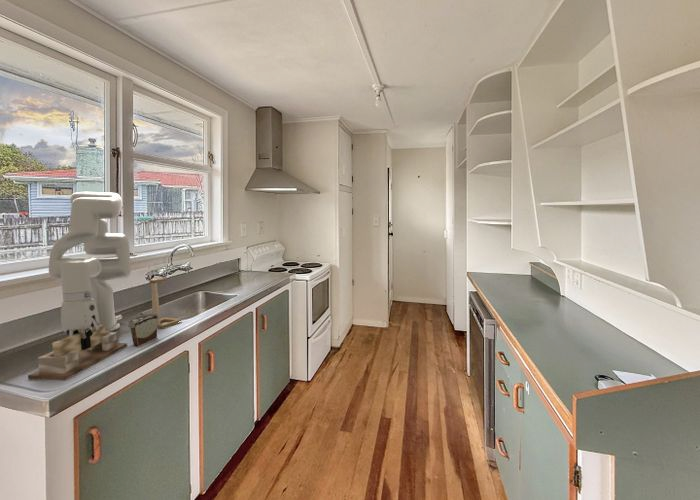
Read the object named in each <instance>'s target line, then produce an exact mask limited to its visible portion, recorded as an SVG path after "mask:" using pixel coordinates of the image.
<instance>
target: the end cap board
mask: <svg viewBox="0 0 700 500" xmlns="http://www.w3.org/2000/svg"><path fill="white" fill-rule="evenodd" d="M101 339H102V343H99V344H97V345H95V346H93V347H91V348H89V349H86V350H84V351H82V352H80V353H78V351H71V352H68V353H66V354H64V355H62V356H60V357H53V350H52V351H50V352H48V353H46V354H43V355H40V356H38V357H37V364H38V365H37V366H38V370H37V371H34V372H32V373H30V374H28V375H27V376H28V377H27V378H28V380H53V381H54V380H56V381H59V380H60V381H66V379H67V380H68V379H70V378H73V376H75V375H77V374H79V373H81V372H82V371H85V370H86V369H89V368H90V367H92V366H94V365H95V364H98V363H99V362H101V361H103V360H105V359H107V358H108V357H110V356H112V355H114V354H116V353H117V352H119V351H121V350H123V349H125V348H126V347H128V343H126V342H125V343H124V342H120V339H119V331H111V332H105V336H103V337H101Z"/></svg>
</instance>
